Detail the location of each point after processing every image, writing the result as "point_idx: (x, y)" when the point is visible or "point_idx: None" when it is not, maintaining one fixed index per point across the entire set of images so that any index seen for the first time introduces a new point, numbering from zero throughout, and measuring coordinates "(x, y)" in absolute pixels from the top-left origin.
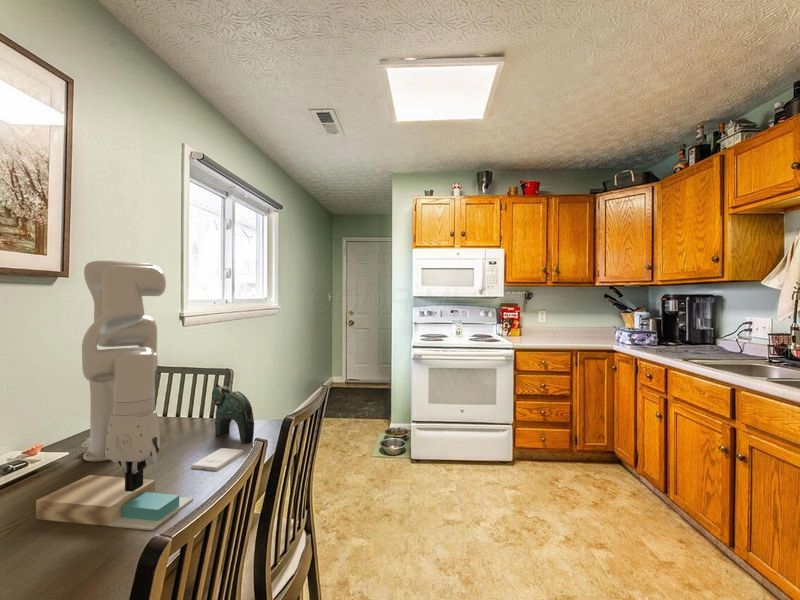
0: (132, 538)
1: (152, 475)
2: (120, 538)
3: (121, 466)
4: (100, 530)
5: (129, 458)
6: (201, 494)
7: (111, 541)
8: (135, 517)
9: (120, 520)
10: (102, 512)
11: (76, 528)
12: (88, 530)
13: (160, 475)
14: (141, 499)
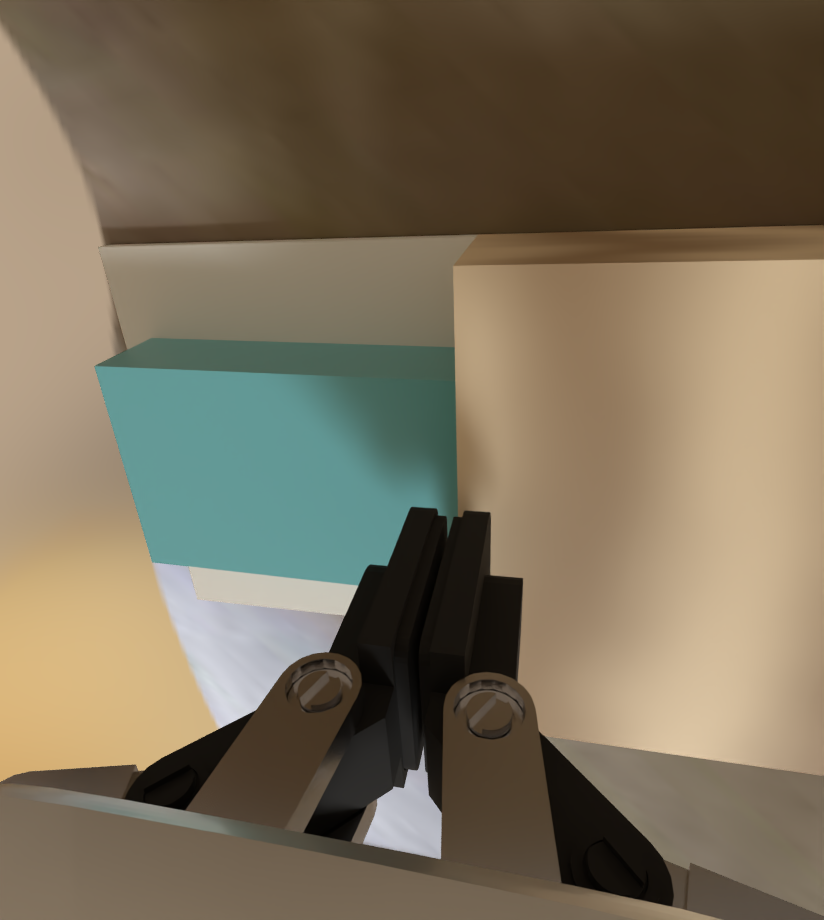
0: (143, 117)
1: (733, 848)
2: (229, 94)
3: (590, 790)
4: (504, 162)
5: (125, 885)
6: (212, 643)
7: (258, 33)
8: (334, 346)
9: (432, 301)
10: (555, 253)
11: (780, 141)
12: (620, 137)
13: (670, 842)
14: (377, 495)
